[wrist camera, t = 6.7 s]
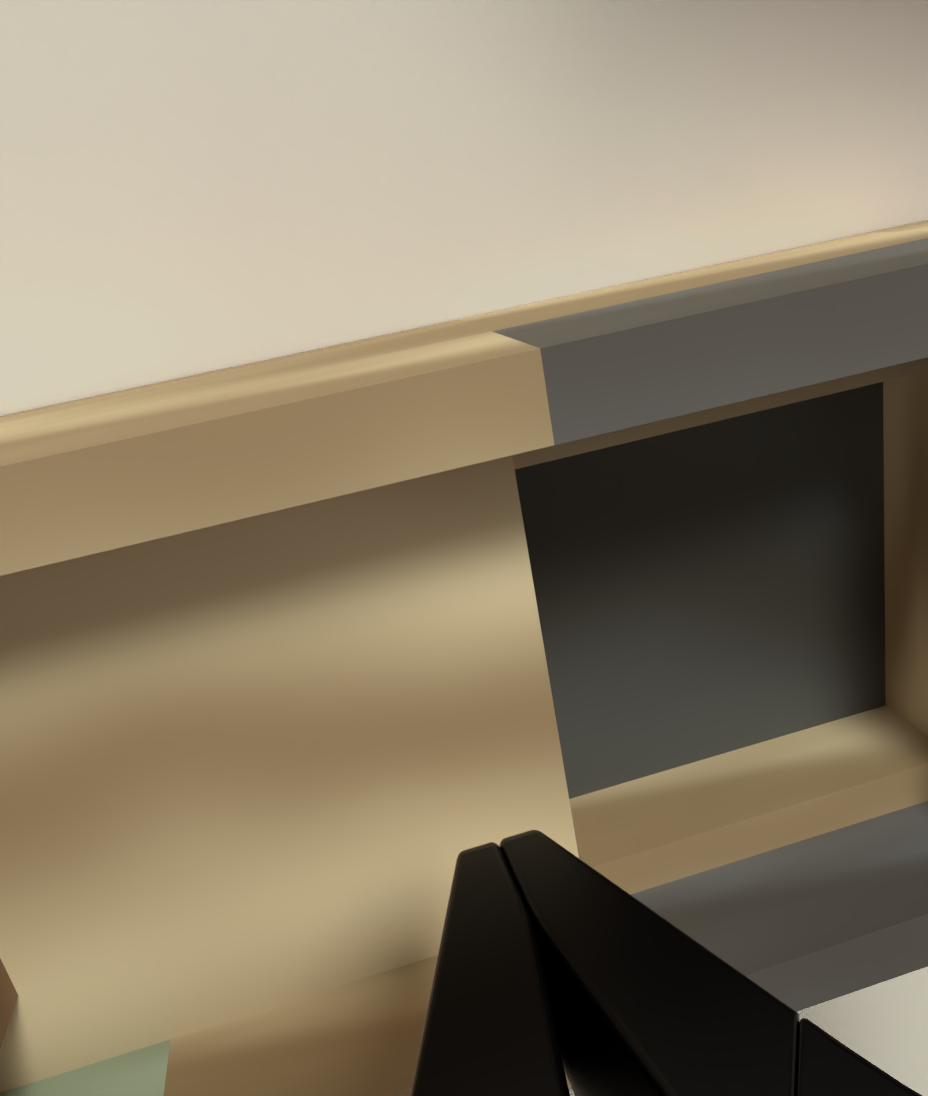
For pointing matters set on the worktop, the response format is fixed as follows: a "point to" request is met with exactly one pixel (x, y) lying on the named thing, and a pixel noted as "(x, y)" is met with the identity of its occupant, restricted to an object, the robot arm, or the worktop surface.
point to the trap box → (463, 664)
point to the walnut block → (6, 1000)
